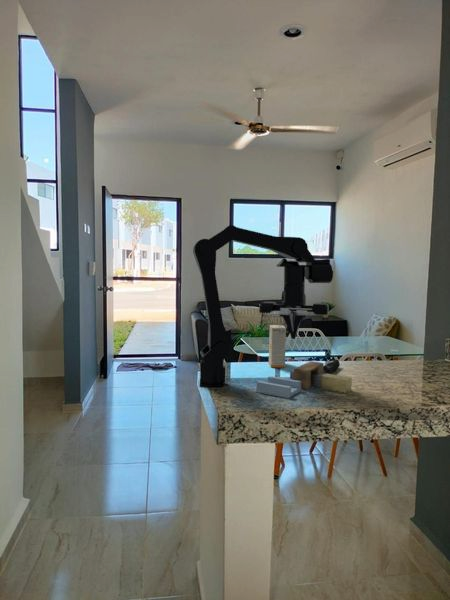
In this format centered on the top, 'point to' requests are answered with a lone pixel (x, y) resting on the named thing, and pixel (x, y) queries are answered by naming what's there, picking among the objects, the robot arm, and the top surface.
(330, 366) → the electric trimmer
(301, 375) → the beam
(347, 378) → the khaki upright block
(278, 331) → the supplement box
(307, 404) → the top surface
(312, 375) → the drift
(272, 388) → the cradle
